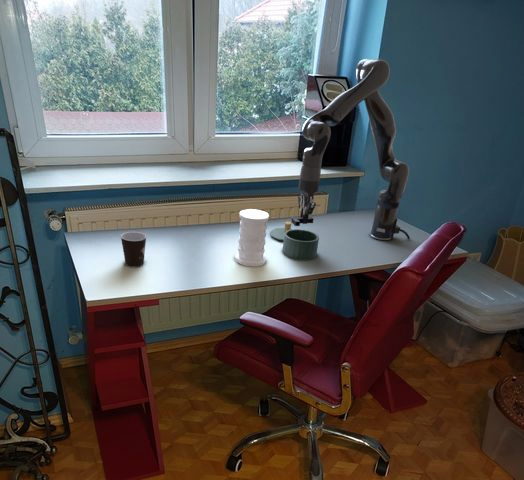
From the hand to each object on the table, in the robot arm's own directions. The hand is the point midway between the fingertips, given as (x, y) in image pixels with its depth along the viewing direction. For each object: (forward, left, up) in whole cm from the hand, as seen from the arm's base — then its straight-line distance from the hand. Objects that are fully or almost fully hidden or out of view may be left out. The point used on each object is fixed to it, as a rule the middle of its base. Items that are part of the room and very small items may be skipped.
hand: (303, 222), depth 207 cm
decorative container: (+23, +6, -12) cm, 27 cm away
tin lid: (0, -17, -12) cm, 20 cm away
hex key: (+1, +1, 0) cm, 2 cm away
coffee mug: (+65, +4, -12) cm, 66 cm away
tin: (+1, +1, -12) cm, 12 cm away
